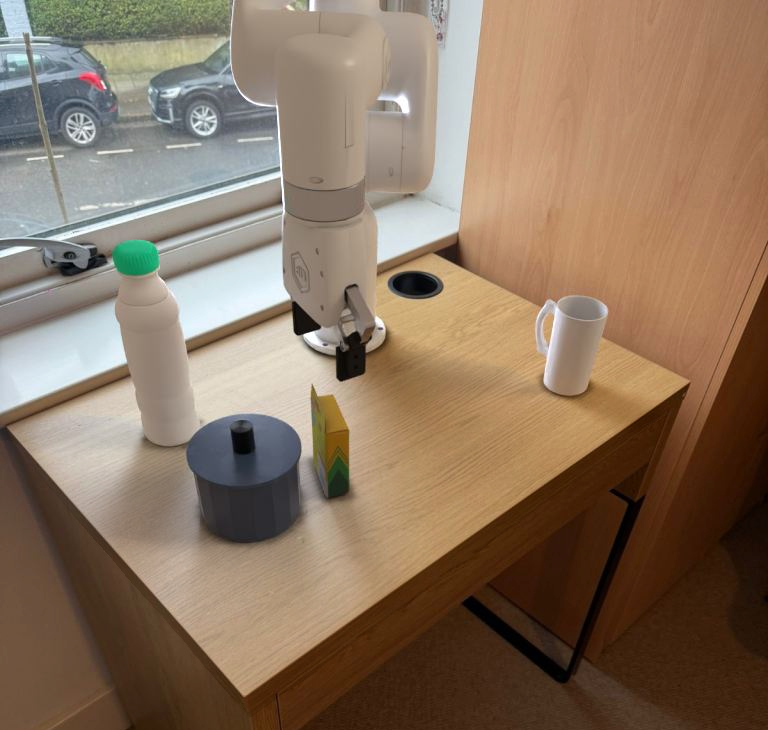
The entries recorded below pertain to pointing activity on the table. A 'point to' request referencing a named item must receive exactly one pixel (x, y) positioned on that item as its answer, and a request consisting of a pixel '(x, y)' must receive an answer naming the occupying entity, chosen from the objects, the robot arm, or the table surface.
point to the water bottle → (154, 346)
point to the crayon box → (330, 444)
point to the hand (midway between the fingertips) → (328, 353)
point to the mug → (571, 342)
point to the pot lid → (243, 451)
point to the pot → (251, 508)
